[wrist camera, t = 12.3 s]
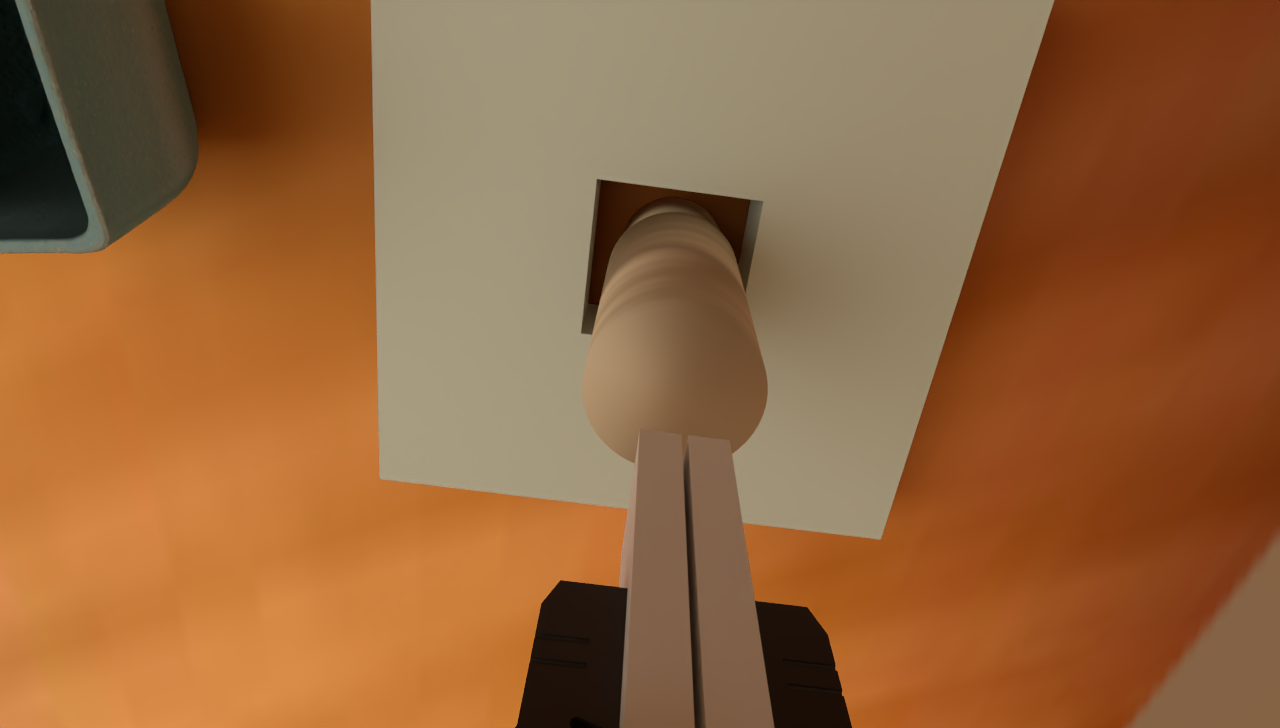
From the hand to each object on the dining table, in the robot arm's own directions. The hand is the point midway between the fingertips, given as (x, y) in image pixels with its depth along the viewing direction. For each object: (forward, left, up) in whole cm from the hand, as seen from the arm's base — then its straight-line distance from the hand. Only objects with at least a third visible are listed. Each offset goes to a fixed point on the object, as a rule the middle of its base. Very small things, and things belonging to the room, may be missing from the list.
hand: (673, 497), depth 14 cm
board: (0, 0, -16) cm, 16 cm away
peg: (0, 0, -16) cm, 16 cm away
